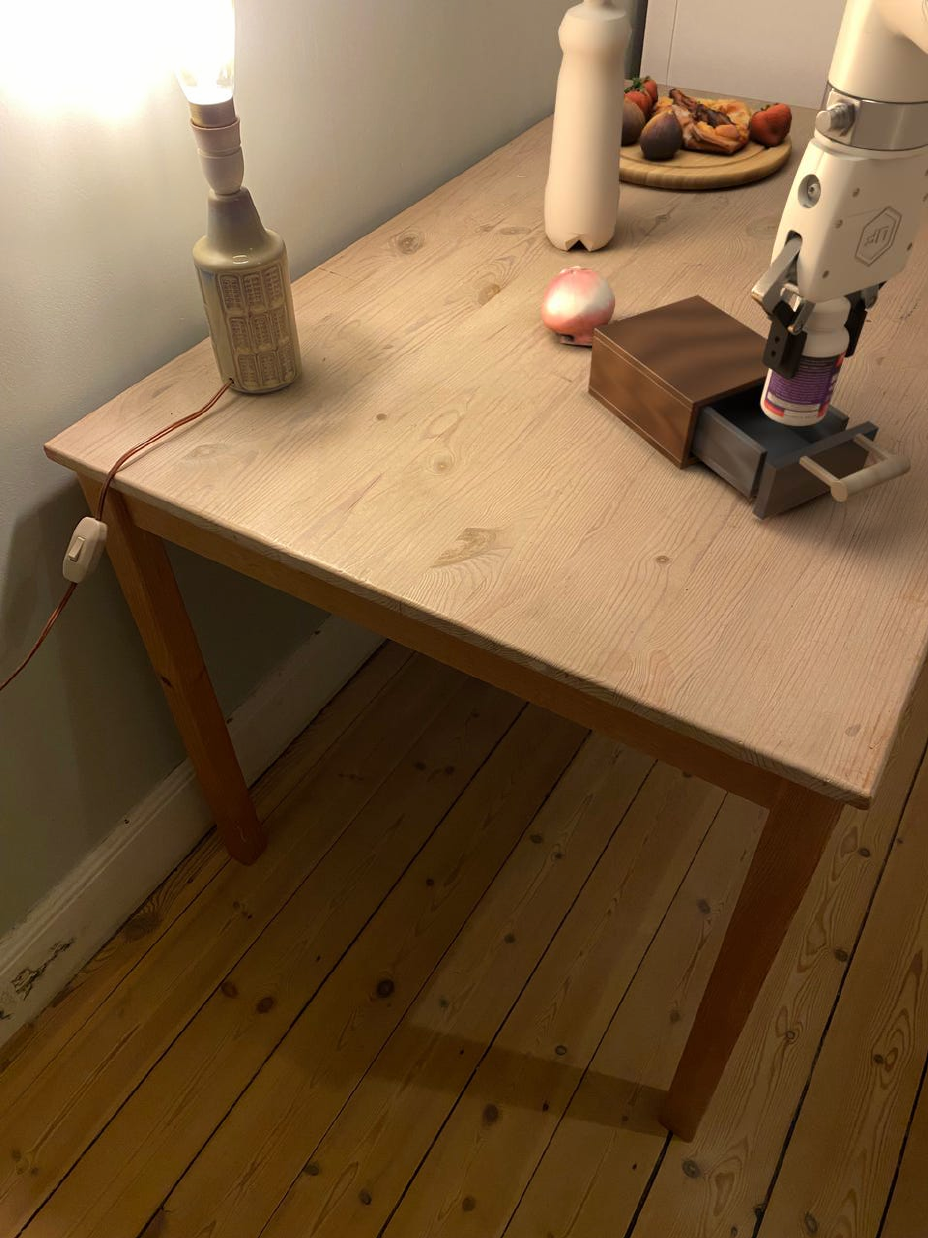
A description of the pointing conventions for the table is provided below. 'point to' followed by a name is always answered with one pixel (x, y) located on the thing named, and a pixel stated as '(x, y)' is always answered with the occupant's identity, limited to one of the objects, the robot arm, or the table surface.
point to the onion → (577, 305)
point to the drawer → (789, 454)
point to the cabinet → (673, 370)
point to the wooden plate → (699, 139)
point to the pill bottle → (811, 368)
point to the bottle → (587, 126)
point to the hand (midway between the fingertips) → (807, 358)
